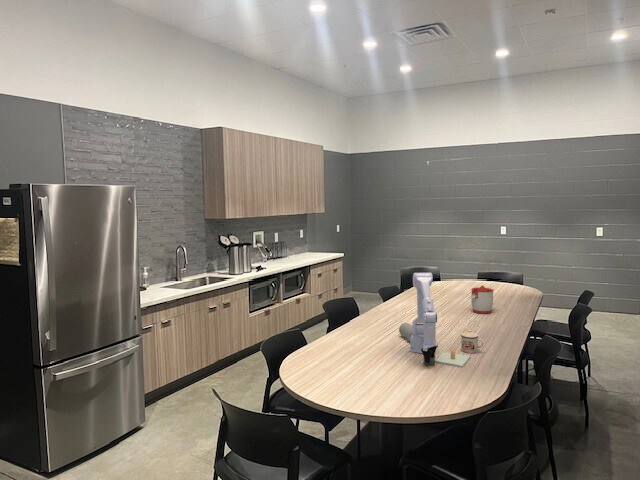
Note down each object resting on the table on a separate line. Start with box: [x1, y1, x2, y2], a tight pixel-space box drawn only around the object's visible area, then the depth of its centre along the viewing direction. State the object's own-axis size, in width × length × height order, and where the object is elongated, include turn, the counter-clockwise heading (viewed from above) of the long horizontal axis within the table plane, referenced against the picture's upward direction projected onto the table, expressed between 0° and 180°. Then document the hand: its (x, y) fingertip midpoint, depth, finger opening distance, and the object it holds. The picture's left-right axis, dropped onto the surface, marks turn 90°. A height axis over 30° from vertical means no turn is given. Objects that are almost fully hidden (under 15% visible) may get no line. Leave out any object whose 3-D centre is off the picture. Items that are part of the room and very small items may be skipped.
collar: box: [423, 354, 436, 366], centre depth 242 cm, size 6×6×4 cm
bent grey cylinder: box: [398, 322, 413, 343], centre depth 282 cm, size 18×10×20 cm
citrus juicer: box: [470, 285, 494, 315], centre depth 345 cm, size 16×17×20 cm
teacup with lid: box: [460, 329, 485, 354], centre depth 261 cm, size 12×9×12 cm
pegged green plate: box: [435, 348, 471, 368], centre depth 246 cm, size 14×16×6 cm
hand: (429, 360), depth 242 cm, fingers closed on collar, 6 cm apart
